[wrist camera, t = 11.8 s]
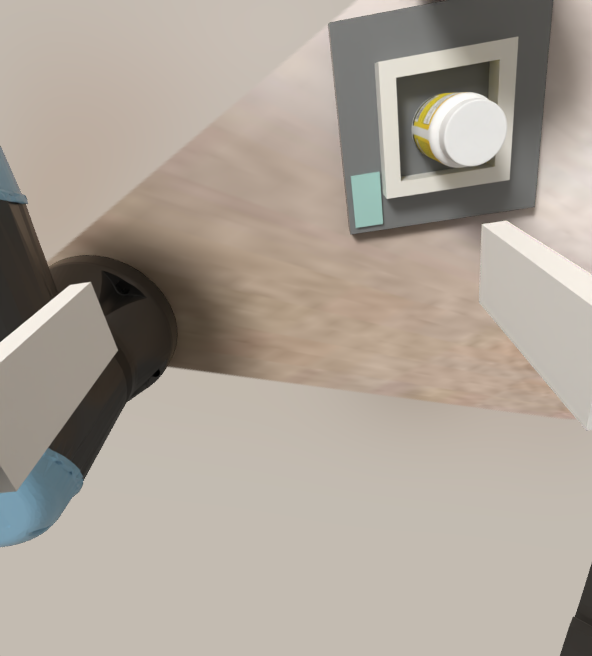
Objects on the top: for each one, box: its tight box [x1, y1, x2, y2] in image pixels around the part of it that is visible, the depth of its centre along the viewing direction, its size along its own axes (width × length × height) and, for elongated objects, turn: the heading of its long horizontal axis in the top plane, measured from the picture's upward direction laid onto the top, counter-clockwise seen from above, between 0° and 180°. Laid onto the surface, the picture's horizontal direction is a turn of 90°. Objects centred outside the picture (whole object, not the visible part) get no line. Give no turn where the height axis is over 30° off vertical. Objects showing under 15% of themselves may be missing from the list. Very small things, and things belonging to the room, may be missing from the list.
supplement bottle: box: [411, 92, 507, 168], centre depth 32 cm, size 5×5×8 cm
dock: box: [328, 0, 553, 234], centre depth 35 cm, size 16×16×3 cm
